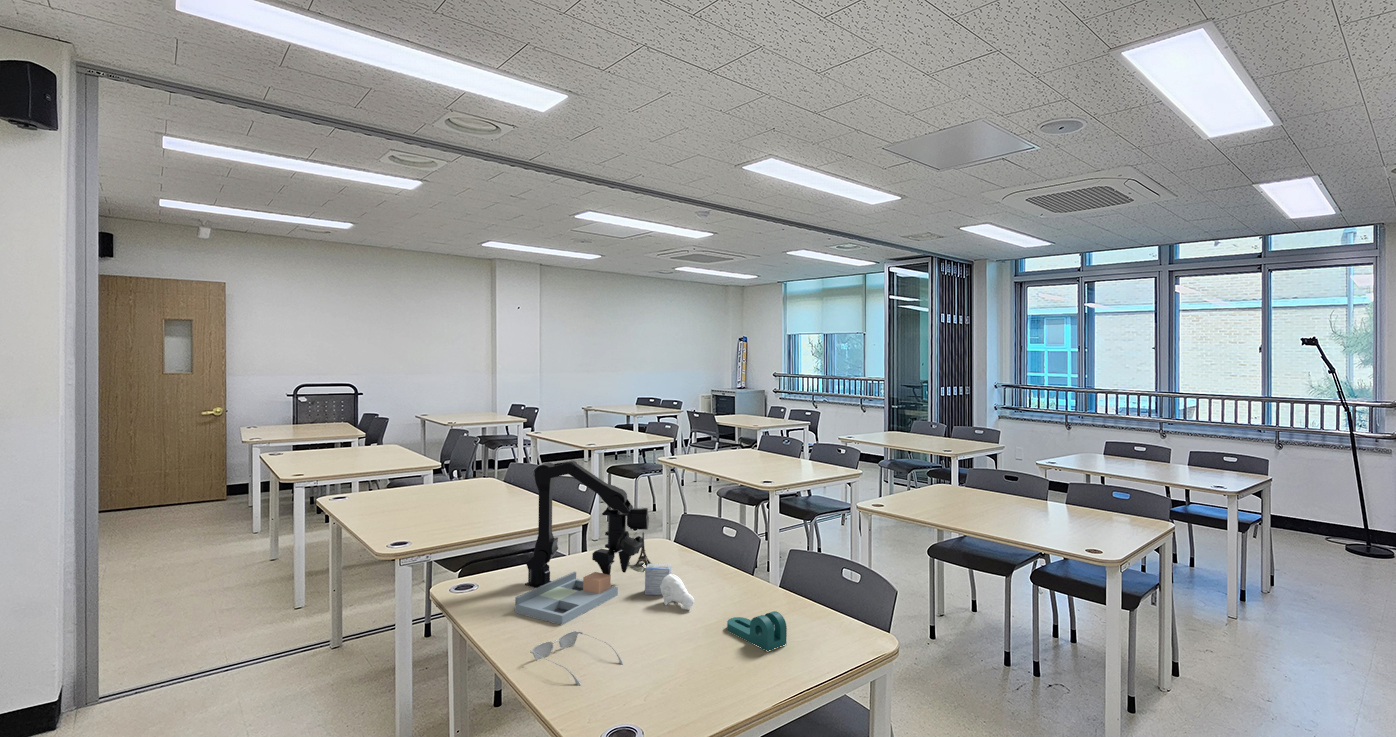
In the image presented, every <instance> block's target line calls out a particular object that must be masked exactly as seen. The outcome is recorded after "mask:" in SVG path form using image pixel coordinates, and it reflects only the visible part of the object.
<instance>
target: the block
mask: <svg viewBox="0 0 1396 737" xmlns="http://www.w3.org/2000/svg"><path fill="white" fill-rule="evenodd" d="M611 575H612V574H610V575H608V574H603V573H602V572H597V571H594V572H592V573H590V574H588V575H585V576H583V577H582V578H583V579H582V580H583V590H585V591H589V592H594V593H598V594H599V593H601V592H603V591H605V590H607V589H609V588H610V586H611Z"/></svg>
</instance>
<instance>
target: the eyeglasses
mask: <svg viewBox="0 0 1396 737" xmlns="http://www.w3.org/2000/svg"><path fill="white" fill-rule="evenodd" d="M578 634H580V635H584V636H588V637H591V638H593V639H595V640H598V641H600V642H602V643H604V644H606V645H608V646H609V647H610V648H611V649H612V650H613V651H614V653H615V654H616V656H617V658H618V662H619V664H620V665H622V666H624V665H625V664H624V661H623V660H622V658H621V657H620V655H619V654H618V652H617V650H616V649H615V648H614V647H613V646H612V645H611V644H609V643H608V642H606V641H603V640H601V639H599V638H597V637H594V636H591V635H589V634H586V633H584V632H583V631H580V630H578V631H577V630H573V631H569V632H566V633H565V634H563V635H562V636H560V637H559V639H557V640H554V641H553V642H552V641H548V640H547V641H545V642H542V643H540V644H536V645H535V646H534V647H533V648H532V649H531V650H529V651H530V653H531V654H532V656H533V658H534V659H535V661H539V660H540V659H544V660H547V661H549V662H551V663H553V664H555V665H557V666H560V667H562V668H563V669H565V670H566V671H567V672H568V673H569V674H570V676H571V677H572V678H573V680H574V682H575V685H577V686H583V685H582V683H581V682H580V681H579V679H578V678H577V677H576V676H575V674H574V673H573V672H571V671H570V669H568V667H566V666H564V665H563V664H559V663H557V662H555V661H552V660H550V659H547V658H545V657H548V656H550V655H551V653H552V651H554V646H555V645H554V644H555V643H558V644H559V647H560V648H561V650H565V649H567V648H568V647H572V646H573V645H574V646H575V644H576V642H577V638H578ZM571 645H572V646H571ZM564 648H565V649H564Z"/></svg>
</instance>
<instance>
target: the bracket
mask: <svg viewBox="0 0 1396 737" xmlns="http://www.w3.org/2000/svg"><path fill="white" fill-rule="evenodd" d="M726 624H727V625H726V627H727V628H726V629H727V630H726V631H727V632H729V633H730V632H731V633H730V634H732V633H733V635H734V634H735V635H734V636H736V635H737V636H736V637H738V636H739V637H738V638H740V637H741V638H740V639H742V638H743V639H742V640H744V639H745V640H747V641H749V642H751V643H753V644H755V645H757V646H759V647H761V648H762V649H761V648H760V649H761V650H763V649H765V650H767V651H769V650H772V649H774V648H777V647H780V646H783V645H785V644H786V645H787V635H788V634H787V633H788V631H787V630H788V628H787V623H786V620H785V618H784V616H783V614H781V612H779V611H777V610H774V611H771V612H768V613H765V614H761V615H757V616H754V617H752V619H749V618H747V617H740V616H736V617H731V618H728V619H727V621H726ZM745 640H744V641H745ZM747 641H746V642H747ZM749 642H748V643H749ZM751 643H750V644H751ZM753 644H752V645H753ZM755 645H754V646H755ZM757 646H756V647H757ZM759 647H758V648H759ZM783 647H784V646H783ZM780 648H781V647H780ZM765 650H764V651H765ZM772 651H773V650H772ZM769 652H770V651H769Z"/></svg>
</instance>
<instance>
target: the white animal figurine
mask: <svg viewBox="0 0 1396 737" xmlns="http://www.w3.org/2000/svg"><path fill="white" fill-rule="evenodd" d="M660 588H661V593H662V594H663V595H662V599H663V602H664V603H663V604H664V606H668V605H669V603H671V602H675V603H679V604H681V606H680V608H681V609H683V610H687V611H690V609H691V608H692V607H693V606H694V604H695V598H694V597H693V596H692V594H690V593H689V591H688V589H687V588H686V586H685V584H684V582H683V580H682V579H681V578H680V577H679V576H678V575H676V574H674V573H671V574H669V575H667V576H666V577H664V579H663V580H662V584H661V585H660Z"/></svg>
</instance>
